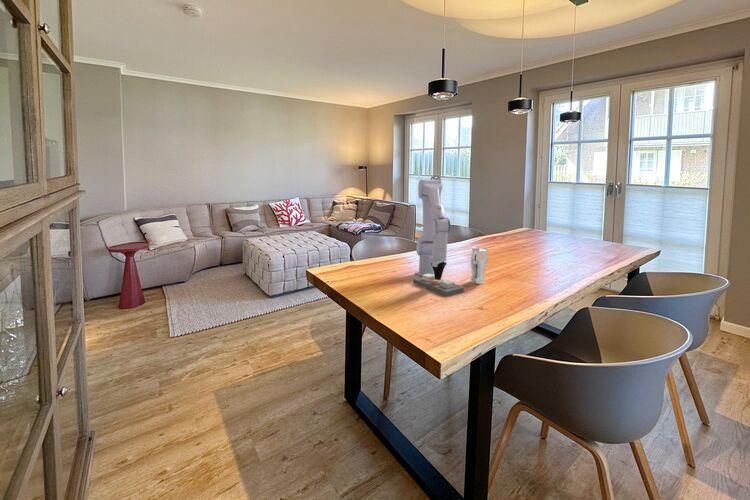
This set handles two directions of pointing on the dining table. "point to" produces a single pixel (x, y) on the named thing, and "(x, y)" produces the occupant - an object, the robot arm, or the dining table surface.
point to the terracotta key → (436, 282)
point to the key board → (438, 287)
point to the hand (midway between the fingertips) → (438, 279)
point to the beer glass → (478, 265)
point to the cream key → (428, 277)
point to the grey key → (447, 284)
